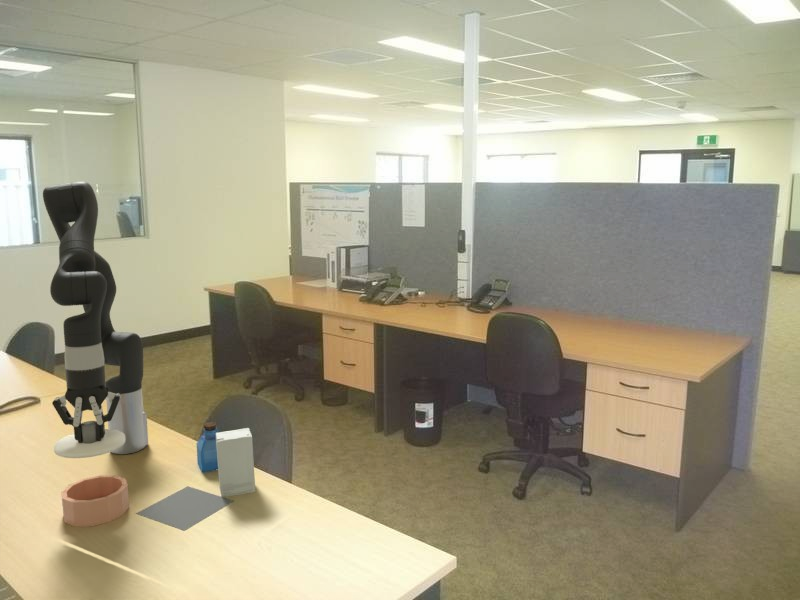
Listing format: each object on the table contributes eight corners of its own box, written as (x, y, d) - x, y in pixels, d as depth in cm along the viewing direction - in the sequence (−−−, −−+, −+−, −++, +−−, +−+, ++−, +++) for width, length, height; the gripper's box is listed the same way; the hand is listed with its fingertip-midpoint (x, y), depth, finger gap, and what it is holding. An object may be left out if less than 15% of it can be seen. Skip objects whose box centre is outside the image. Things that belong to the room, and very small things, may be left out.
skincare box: (252, 483, 155) (250, 426, 152) (256, 494, 149) (254, 435, 147) (217, 489, 152) (215, 430, 149) (219, 500, 146) (216, 440, 144)
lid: (98, 432, 147) (97, 408, 146) (139, 444, 140) (137, 419, 139) (40, 453, 134) (38, 427, 134) (81, 467, 128) (79, 440, 127)
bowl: (103, 494, 149) (101, 471, 148) (141, 507, 142) (139, 483, 141) (51, 519, 137) (48, 493, 136) (89, 534, 131) (87, 507, 130)
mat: (187, 488, 152) (187, 486, 152) (234, 503, 145) (234, 500, 145) (135, 515, 139) (135, 513, 139) (184, 533, 132) (184, 530, 132)
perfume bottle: (201, 475, 159) (199, 430, 158) (197, 465, 165) (195, 422, 163) (226, 470, 162) (224, 426, 160) (221, 461, 168) (219, 418, 166)
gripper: (43, 371, 129) (50, 450, 131) (117, 366, 133) (122, 443, 135) (52, 361, 136) (58, 437, 139) (122, 357, 140) (127, 431, 143)
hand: (90, 440), depth 137 cm, fingers closed on lid, 3 cm apart
